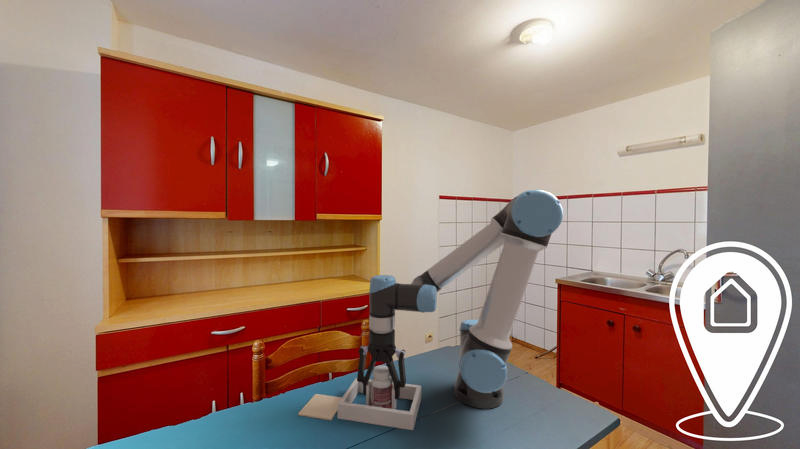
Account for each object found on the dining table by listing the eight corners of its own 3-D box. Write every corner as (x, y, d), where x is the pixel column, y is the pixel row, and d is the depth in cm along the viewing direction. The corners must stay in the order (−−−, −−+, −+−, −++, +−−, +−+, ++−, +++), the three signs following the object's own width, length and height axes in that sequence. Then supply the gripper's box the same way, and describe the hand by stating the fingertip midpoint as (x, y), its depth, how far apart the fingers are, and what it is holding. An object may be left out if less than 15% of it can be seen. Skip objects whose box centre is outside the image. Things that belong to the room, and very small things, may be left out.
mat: (345, 399, 91) (345, 398, 91) (330, 420, 81) (330, 418, 81) (315, 395, 93) (315, 393, 93) (297, 415, 83) (297, 413, 83)
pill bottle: (396, 410, 86) (396, 371, 86) (377, 417, 82) (377, 376, 82) (385, 399, 91) (385, 362, 91) (367, 406, 87) (367, 367, 87)
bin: (421, 398, 91) (421, 385, 91) (413, 430, 77) (413, 415, 77) (356, 390, 96) (356, 377, 96) (337, 418, 82) (337, 403, 82)
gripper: (417, 327, 88) (416, 404, 88) (354, 322, 92) (353, 395, 92) (413, 336, 81) (412, 420, 81) (345, 330, 85) (344, 410, 85)
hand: (381, 407), depth 87 cm, fingers open, 7 cm apart
